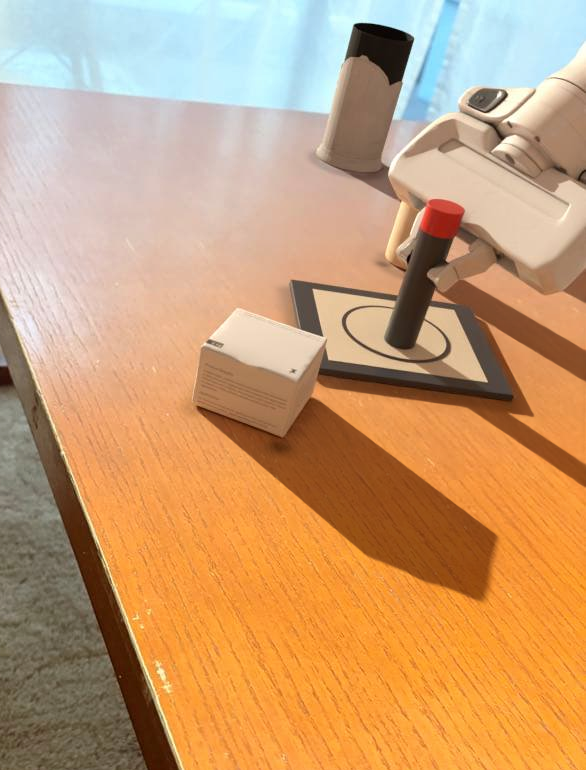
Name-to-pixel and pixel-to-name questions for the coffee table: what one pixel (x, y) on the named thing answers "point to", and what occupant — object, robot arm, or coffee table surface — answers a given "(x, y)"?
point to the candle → (400, 232)
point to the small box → (258, 371)
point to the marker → (422, 271)
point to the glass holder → (365, 97)
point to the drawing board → (393, 365)
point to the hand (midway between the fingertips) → (417, 272)
